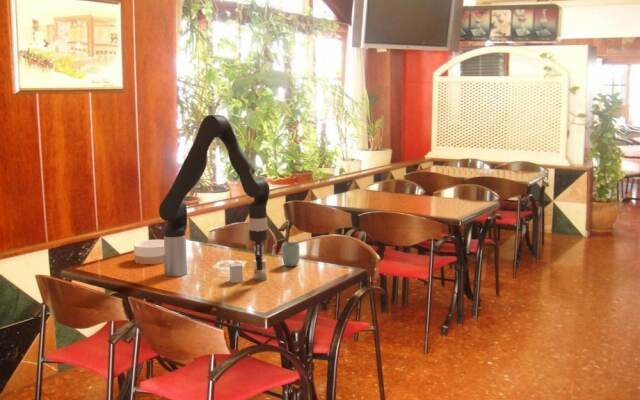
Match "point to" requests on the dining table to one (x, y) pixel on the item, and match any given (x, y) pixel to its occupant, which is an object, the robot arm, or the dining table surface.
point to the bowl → (149, 251)
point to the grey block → (236, 273)
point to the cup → (290, 253)
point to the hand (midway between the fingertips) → (259, 269)
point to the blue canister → (260, 271)
